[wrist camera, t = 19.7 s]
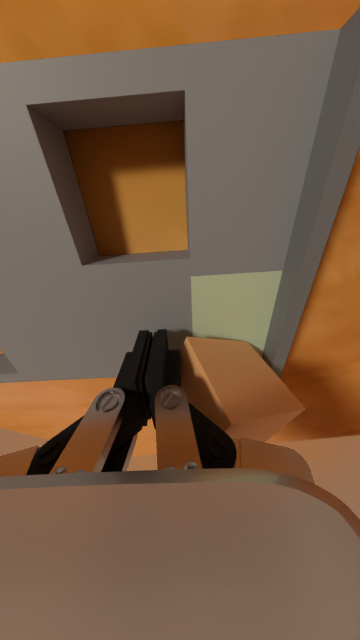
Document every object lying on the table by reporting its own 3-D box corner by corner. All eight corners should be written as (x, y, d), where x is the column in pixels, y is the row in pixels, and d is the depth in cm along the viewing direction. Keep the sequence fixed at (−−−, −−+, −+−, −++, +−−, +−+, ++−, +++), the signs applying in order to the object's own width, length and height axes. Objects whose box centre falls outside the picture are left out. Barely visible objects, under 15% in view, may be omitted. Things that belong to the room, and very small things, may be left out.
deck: (315, 76, 8) (418, -26, 5) (257, 348, 16) (277, 385, 13) (-338, 137, 9) (-664, 90, 5) (-76, 366, 17) (-140, 404, 14)
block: (247, 341, 13) (306, 408, 9) (215, 384, 15) (251, 452, 11) (186, 336, 10) (231, 424, 7) (161, 388, 13) (183, 474, 9)
